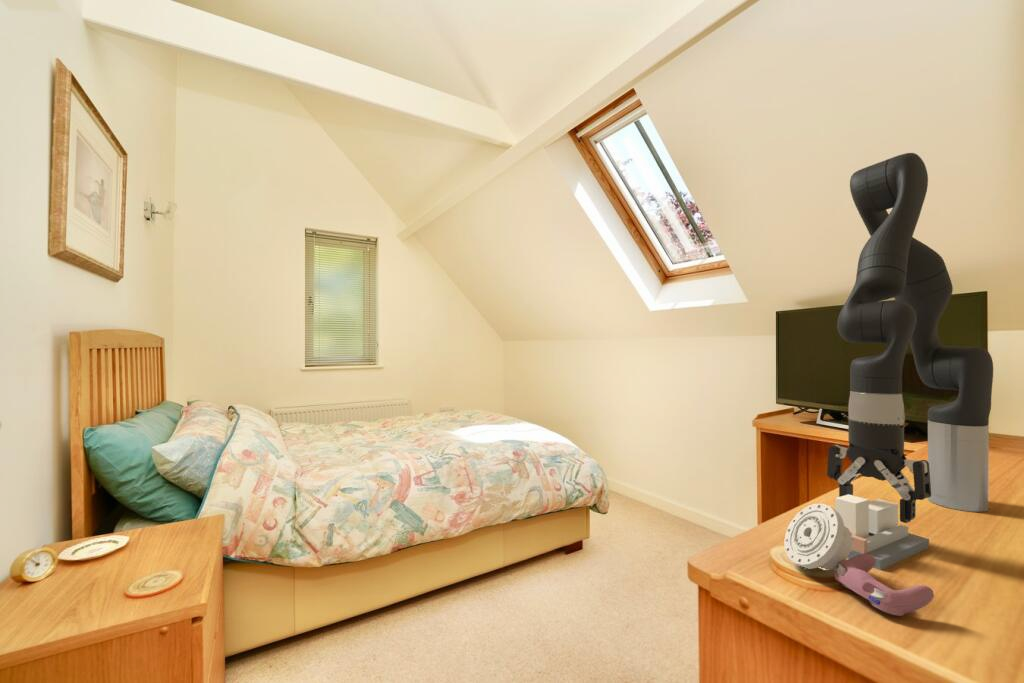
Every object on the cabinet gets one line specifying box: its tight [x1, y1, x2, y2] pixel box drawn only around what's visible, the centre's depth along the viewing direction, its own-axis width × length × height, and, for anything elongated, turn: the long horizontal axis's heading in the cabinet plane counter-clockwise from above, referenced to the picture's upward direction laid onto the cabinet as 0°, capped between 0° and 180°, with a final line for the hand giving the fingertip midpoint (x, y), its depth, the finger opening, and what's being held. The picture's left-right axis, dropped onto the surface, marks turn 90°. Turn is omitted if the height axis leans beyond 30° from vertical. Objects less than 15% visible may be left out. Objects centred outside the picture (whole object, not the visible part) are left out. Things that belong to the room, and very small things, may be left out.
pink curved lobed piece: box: [834, 554, 935, 617], centre depth 62 cm, size 10×5×7 cm
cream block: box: [869, 498, 899, 536], centre depth 80 cm, size 5×3×7 cm
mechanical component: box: [783, 503, 854, 571], centre depth 70 cm, size 10×4×10 cm
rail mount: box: [834, 494, 930, 571], centre depth 78 cm, size 16×11×8 cm
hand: (875, 513), depth 80 cm, fingers open, 8 cm apart
